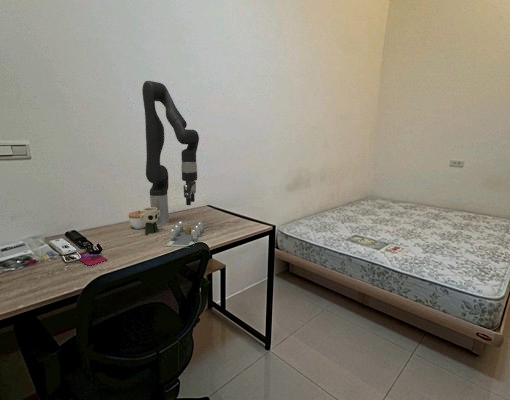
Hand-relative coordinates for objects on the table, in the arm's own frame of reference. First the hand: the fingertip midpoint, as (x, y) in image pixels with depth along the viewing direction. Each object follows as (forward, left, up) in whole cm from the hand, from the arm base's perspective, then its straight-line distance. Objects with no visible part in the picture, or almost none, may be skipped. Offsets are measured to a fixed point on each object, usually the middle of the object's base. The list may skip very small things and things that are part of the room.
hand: (190, 203), depth 149 cm
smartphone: (-33, -35, -16) cm, 51 cm away
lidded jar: (-30, +6, -16) cm, 34 cm away
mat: (0, -10, -16) cm, 19 cm away
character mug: (-20, -3, -16) cm, 26 cm away
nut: (0, -4, -15) cm, 15 cm away
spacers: (0, -8, -16) cm, 18 cm away
